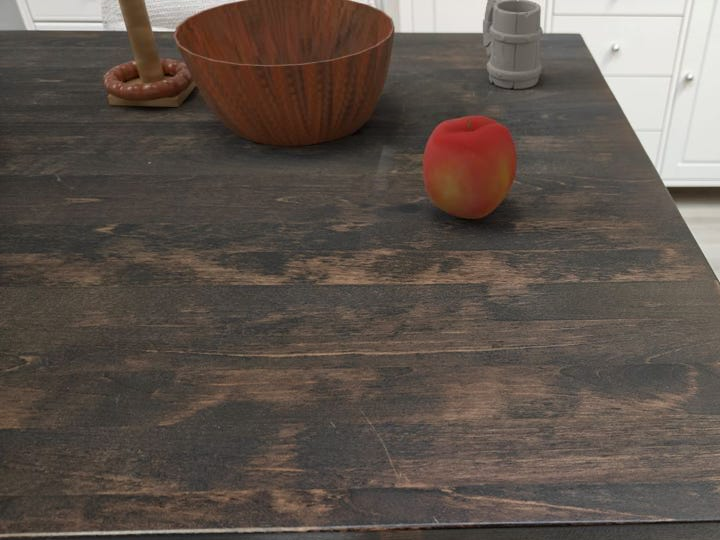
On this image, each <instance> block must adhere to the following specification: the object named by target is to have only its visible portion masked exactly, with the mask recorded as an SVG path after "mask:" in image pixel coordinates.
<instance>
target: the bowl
mask: <svg viewBox="0 0 720 540" xmlns="http://www.w3.org/2000/svg"><path fill="white" fill-rule="evenodd" d="M395 28H396V27H395V23H394V20H393V18H392V17H390V15H388V13H386V12H385V11H384V10H381V9H380V8H377V7H374V6H373V5H370V4H367V3H363V2H359V1H355V0H237V1H232V2H228V3H223V4H220V5H217V6H213V7H210V8H206V9H203V10H201V11H199V12H197V13H195V14H193V15H191V16H189V17H187V18H185V19H184V20H183V21H182V22H180V23H179V24H177V26H176V27H175V30H174V33H173V35H172V36H173V40H174V42H175V45H176V46H177V49H178V51H179V53H180V55H181V58H182V60H183V63H185V64H186V66H187V68H188V70H189V72H190V74H191V76H192V78H193V80H194V82H195V84H196V86H195V87H196V88H197V89H198V91H199V93H200V95H201V96H202V98H203V99H204V101H205V103H206V104H207V106H208V107H209V109H210V110H211V112H212V113H213V115H214V116H215V117H216V118H217V119H218V120H219V121H220V122H221V124H222V125H224V126H225V127H226V128H227V129H228V130H230V131H231V132H232V133H234V134H235V135H237V136H238V137H239V138H242V139H245V140H247V141H250V142H252V143H258V144H262V145H267V146H280V147H294V146H296V147H297V146H311V145H316V144H321V143H328V142H331V141H334V140H337V139H338V140H339V139H341V138H344V137H348V136H350V135H351V136H352V135H353V134H354V133H356V132H357V131H358V130H359V129H361V128H362V127H363V126H364V125H365V124H366V123H367V122H368V121H369V120H370V118H371V117H372V115H373V113H374V111H375V110H376V107H377V105H378V102H379V101H380V98H381V96H382V92H383V90H384V87H385V84H386V80H387V76H388V72H389V68H390V64H391V63H390V62H391V58H392V51H393V44H394V38H395Z"/></svg>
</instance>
